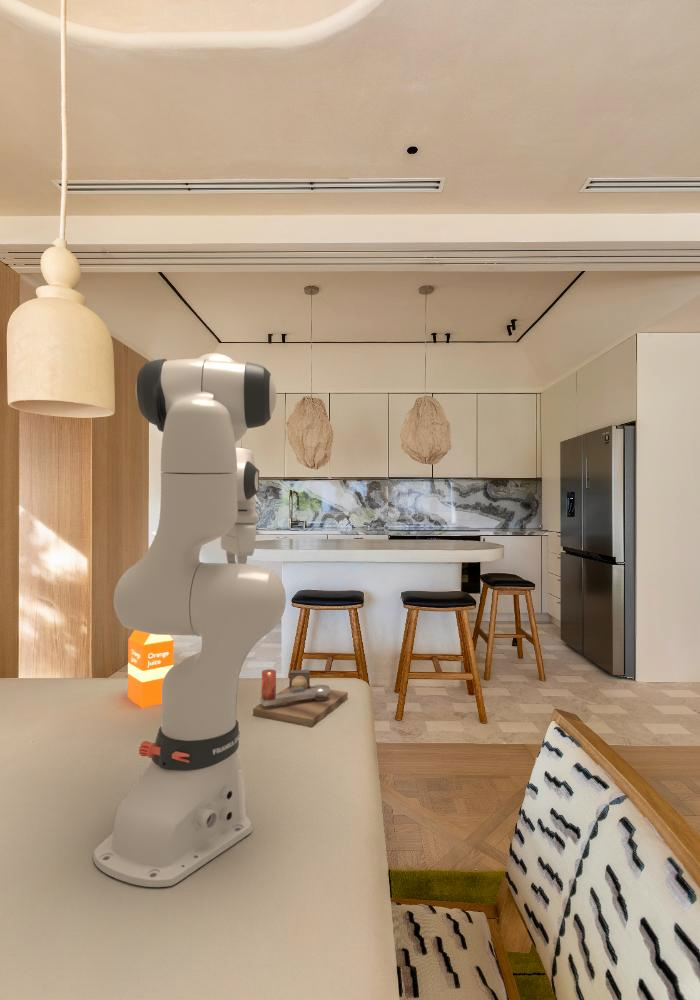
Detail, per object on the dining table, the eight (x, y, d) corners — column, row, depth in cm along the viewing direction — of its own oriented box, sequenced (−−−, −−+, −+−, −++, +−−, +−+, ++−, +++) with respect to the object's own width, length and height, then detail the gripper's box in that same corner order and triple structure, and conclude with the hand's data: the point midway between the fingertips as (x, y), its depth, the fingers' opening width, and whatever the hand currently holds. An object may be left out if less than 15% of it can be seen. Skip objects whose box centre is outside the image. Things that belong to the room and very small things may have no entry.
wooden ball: (302, 696, 135) (303, 679, 135) (288, 693, 137) (288, 677, 137) (310, 690, 139) (310, 674, 139) (296, 688, 140) (296, 672, 140)
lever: (265, 709, 124) (265, 675, 124) (257, 701, 129) (257, 668, 129) (332, 697, 132) (333, 665, 132) (322, 690, 137) (323, 659, 137)
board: (312, 727, 120) (312, 701, 120) (252, 715, 126) (253, 690, 126) (347, 698, 138) (347, 675, 138) (294, 689, 144) (294, 667, 144)
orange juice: (141, 708, 129) (142, 621, 129) (127, 697, 136) (128, 615, 136) (173, 700, 135) (174, 617, 135) (158, 690, 141) (159, 611, 141)
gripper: (215, 513, 145) (214, 566, 145) (233, 516, 126) (232, 577, 126) (239, 513, 147) (238, 565, 147) (260, 516, 129) (259, 576, 129)
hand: (235, 571), depth 136 cm, fingers open, 8 cm apart
